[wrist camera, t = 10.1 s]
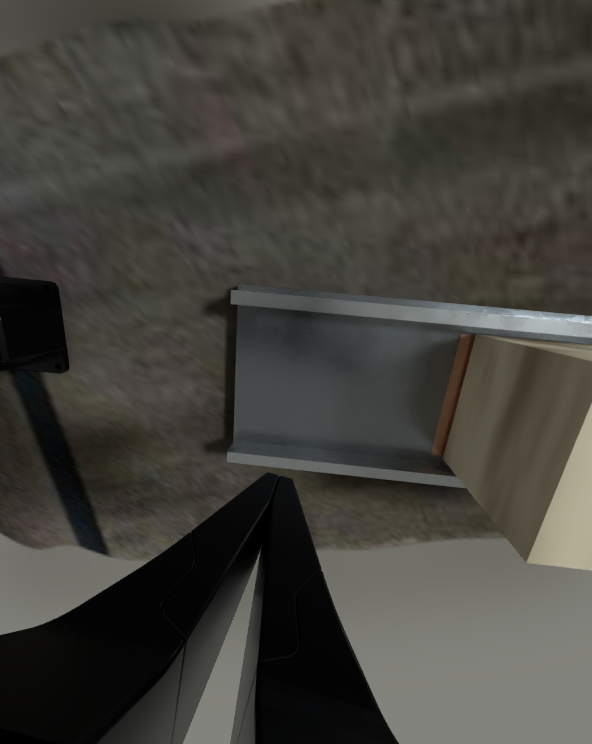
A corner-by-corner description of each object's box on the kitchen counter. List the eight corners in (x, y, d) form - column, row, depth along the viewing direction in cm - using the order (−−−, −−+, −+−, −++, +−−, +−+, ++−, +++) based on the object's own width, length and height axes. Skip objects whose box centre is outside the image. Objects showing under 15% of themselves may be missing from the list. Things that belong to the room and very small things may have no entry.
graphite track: (236, 447, 22) (220, 479, 18) (241, 284, 19) (223, 281, 15) (610, 487, 21) (677, 530, 17) (687, 325, 18) (791, 333, 14)
